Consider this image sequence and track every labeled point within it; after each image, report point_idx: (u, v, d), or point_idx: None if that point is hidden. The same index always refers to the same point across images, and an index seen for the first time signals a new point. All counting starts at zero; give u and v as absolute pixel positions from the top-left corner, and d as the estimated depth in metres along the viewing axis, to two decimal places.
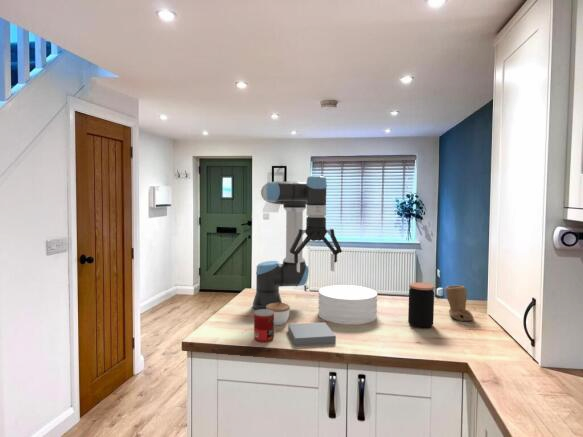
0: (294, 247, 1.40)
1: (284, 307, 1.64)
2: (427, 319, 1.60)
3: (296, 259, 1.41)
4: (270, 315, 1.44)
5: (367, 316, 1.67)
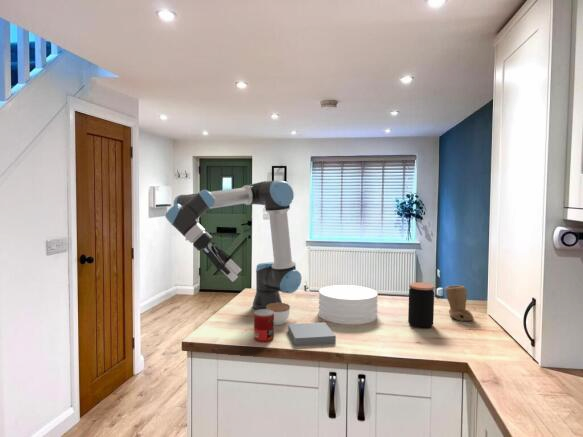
0: None
1: (284, 307, 1.64)
2: (427, 319, 1.60)
3: None
4: (270, 315, 1.44)
5: (367, 316, 1.67)
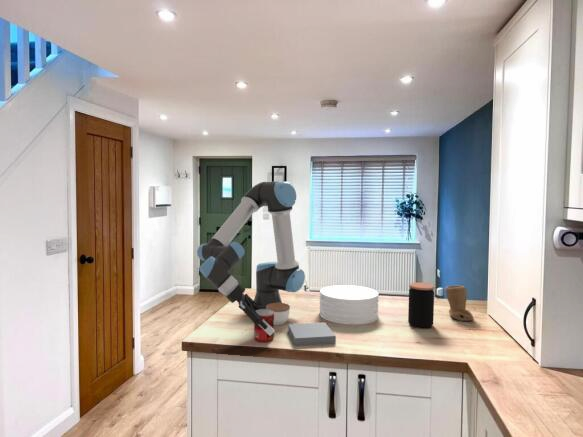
0: None
1: (284, 307, 1.64)
2: (427, 319, 1.60)
3: None
4: (270, 315, 1.44)
5: (368, 316, 1.67)
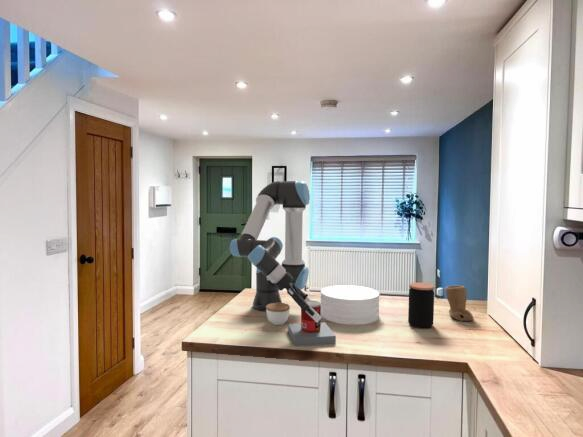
0: None
1: (284, 307, 1.64)
2: (427, 319, 1.60)
3: None
4: (318, 306, 1.46)
5: (369, 316, 1.67)
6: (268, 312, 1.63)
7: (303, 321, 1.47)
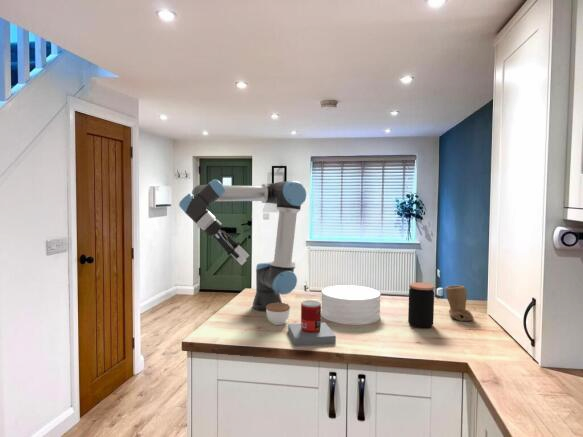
0: None
1: (284, 307, 1.64)
2: (427, 319, 1.60)
3: None
4: (318, 306, 1.46)
5: (370, 316, 1.67)
6: (268, 312, 1.63)
7: (303, 321, 1.47)
